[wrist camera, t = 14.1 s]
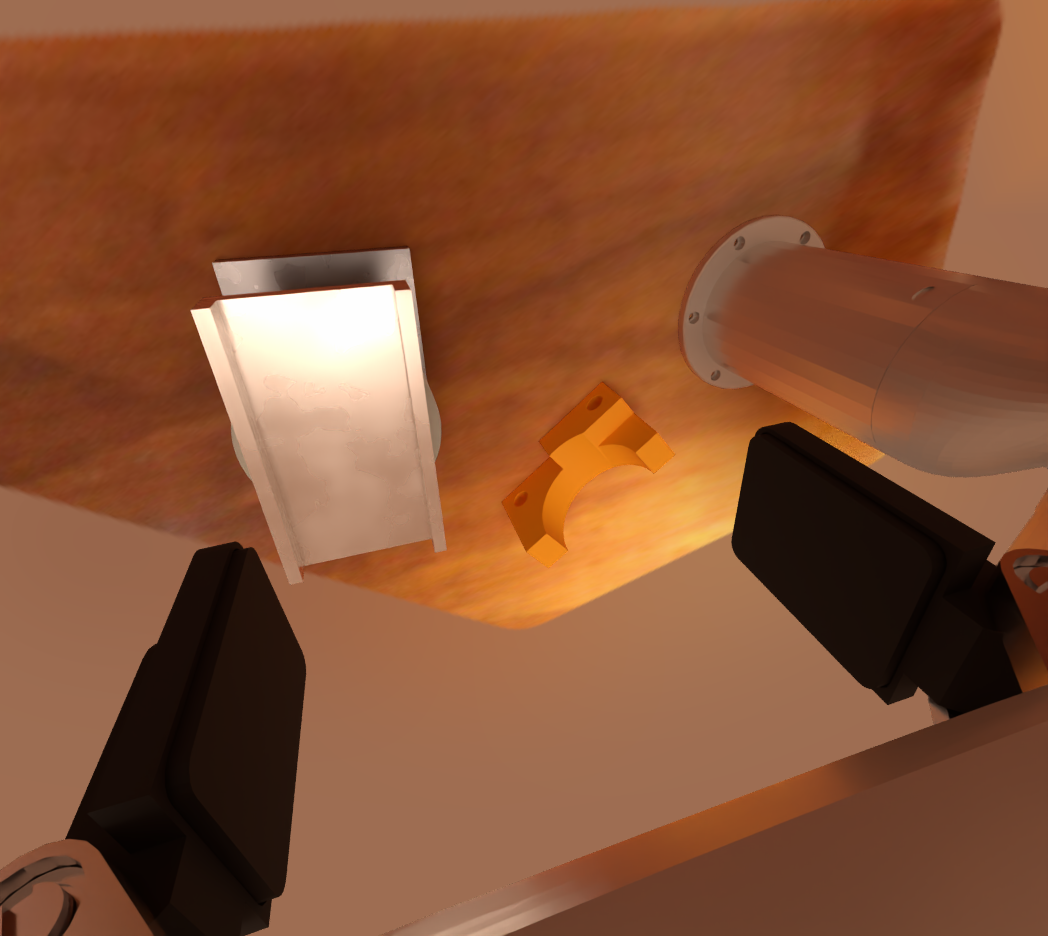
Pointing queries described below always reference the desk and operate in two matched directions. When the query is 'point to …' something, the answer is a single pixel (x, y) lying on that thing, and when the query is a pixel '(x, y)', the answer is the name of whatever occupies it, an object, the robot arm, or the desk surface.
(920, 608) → the robot arm
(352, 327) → the cylinder with tray top
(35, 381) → the desk surface
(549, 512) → the pipe clamp
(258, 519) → the desk surface
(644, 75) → the desk surface
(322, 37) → the desk surface
